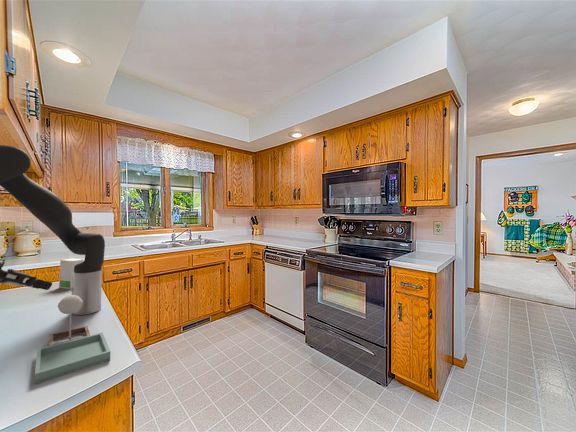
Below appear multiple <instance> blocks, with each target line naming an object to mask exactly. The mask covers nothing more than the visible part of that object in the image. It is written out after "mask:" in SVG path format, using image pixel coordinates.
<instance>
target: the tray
mask: <svg viewBox="0 0 576 432" xmlns="http://www.w3.org/2000/svg"><path fill="white" fill-rule="evenodd" d="M82 337H83V336H82ZM78 338H79V337H78ZM74 339H75V338H74ZM66 341H67V342H64V341H62V342H63V343H60V342H58V343H59V344H56V343H55V344H56V345H52V346H50V345H48V346H44V347H41V348H37V350H36V359H35V360H36V361H35V369H34V385H37V384H40V383H43V382H46V381H49V380H50V381H51V380H52V379H55V378H58V377H59V378H60V377H61V376H65V375H68V374H71V373H74V372H78V371H81V370H84V369H87V368H90V367H94V366H96V365H99V364H102V363H105V362H108V361H111V350H110V347H109V344H108V342H107V340H106V337H105V335H104V333H103V332H100V333H96V334H90V336H87V337H83V338H79V339H75V340H72V339H71V341H68V340H66Z"/></svg>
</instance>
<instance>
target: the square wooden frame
mask: <svg viewBox="0 0 576 432" xmlns="http://www.w3.org/2000/svg"><path fill="white" fill-rule="evenodd" d="M82 334H84V336H83V335H82ZM79 335H82V336H80V337H76V338H71V340H75V339H79V338H83V337H87V336H91V333H90V329H89V327H88V325H83V326H81V327H75V328H71V337H74V336H79ZM65 338H69V329H68V330H63V331H60V332H55V333H50V334H49V346H52V345H56V344H59V343H63V342H67V341H71V340H69V339H68V340H64V341H60V342H56V343H54V341H57V340H62V339H65Z"/></svg>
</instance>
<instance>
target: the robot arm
mask: <svg viewBox="0 0 576 432" xmlns="http://www.w3.org/2000/svg"><path fill="white" fill-rule="evenodd" d="M30 157H31V156H29V154H28V153H27V152H26V151H25V150H23V149H21V148H20V147H15V146H12V145H4V144H0V187H1V188H3V189H4V190H5V191H6V192H8V193H9V194H10V195H11V196H12V197H13V198H14V199H16V201H18V202H19V204H21V205H22V206H23V207H24V208H26V209H27V210H28V211H29V213H30V214H32V215H33V216H34V217H35V218H36V219H38V221H39V222H41V223H42V224H44V225H45V226H46V227H47V228H48V229H49V230H50V231H51V232H52V233H53V234H54V235H56V236H57V238H59V239H60V240H61V242H62V243H63V244H64V245H65V247H66V248H67V249H68V250H69V251H70V252H71V253H73V254H75V255H79V256H84V259H83V262H82V263H80V264H77V265H75V266H74V288H73V289H71V295H76V296H79V297H80V298H81V299H82V300H83V303H82V306H81V308H80V309H79V310H78V311H76V312H74V313H72V315H75V316H84V315H90V314H93V313H97V312H99V311H100V310H101V309H102V269H103V267H102V266H103V265H104V262H105V261H104V259H105V248H106V242H105V238H104V236H103V235H101V234H100V233H91V232H90V233H89V232H88V233H86V232H83V231H80V230H79V229H78V228H77V227H76V226H75V225H74V224H73V215H72V211H71V209H70V208H69V206H68V205H67V204H66V203H65V202H64V201H63V200H62V199H61V198H60V197H59V196H58V195H57V194H56V193H54V192H53V191H51V190H50V189H48V188H46V187H44V186H42V185H40V184H39V183H37V182H36V181H34V180H32V178H31V179H30V178H29V176H27V175H26V174H25V173H27V172H28V170H29V169H30V167H31V165H32V163H31V162H32V161H31V158H30ZM4 265H5V260H4V259H1V258H0V284H3V285H9V286H10V285H11V286H18V287H23V286H24V287H29V288H32V289H37V290H39V289H41V290H46V291H49V290H50V289H51V287H52V286H53V282H51V281H47V280H43V279H39V278H38V277H36V276H32V275H30V274H28V273H25V272H20V271H19V270H16V269H12V268H8V269H7V270H3V269H2V268H3V267H4Z"/></svg>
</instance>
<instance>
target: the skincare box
mask: <svg viewBox="0 0 576 432" xmlns="http://www.w3.org/2000/svg"><path fill="white" fill-rule="evenodd" d="M83 261H84V259H83V258H73V257H71V258H65V259H60V260H59V262H60V263H59V278H58V279H59V282H58V288H59V289H64V290H65V289H66V290H73V289H74V266H75V265H77V264H80V263H82V262H83Z"/></svg>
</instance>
